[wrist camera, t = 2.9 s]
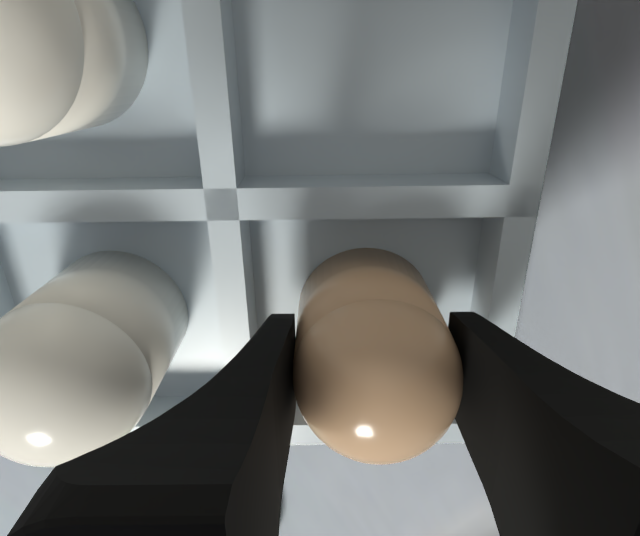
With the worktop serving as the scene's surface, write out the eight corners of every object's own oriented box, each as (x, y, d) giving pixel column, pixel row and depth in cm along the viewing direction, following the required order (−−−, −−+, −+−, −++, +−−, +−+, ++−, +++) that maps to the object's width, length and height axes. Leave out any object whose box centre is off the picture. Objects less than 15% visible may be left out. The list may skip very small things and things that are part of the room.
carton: (40, 400, 16) (0, 447, 14) (-144, -159, 10) (-262, -218, 8) (472, 396, 16) (494, 443, 14) (559, -171, 10) (621, -236, 8)
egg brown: (300, 364, 14) (290, 507, 10) (296, 248, 13) (281, 351, 8) (424, 362, 14) (476, 505, 10) (435, 247, 13) (503, 349, 8)
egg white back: (73, 365, 14) (-49, 509, 10) (41, 251, 13) (-125, 355, 8) (195, 364, 14) (134, 508, 10) (178, 249, 13) (94, 353, 8)
